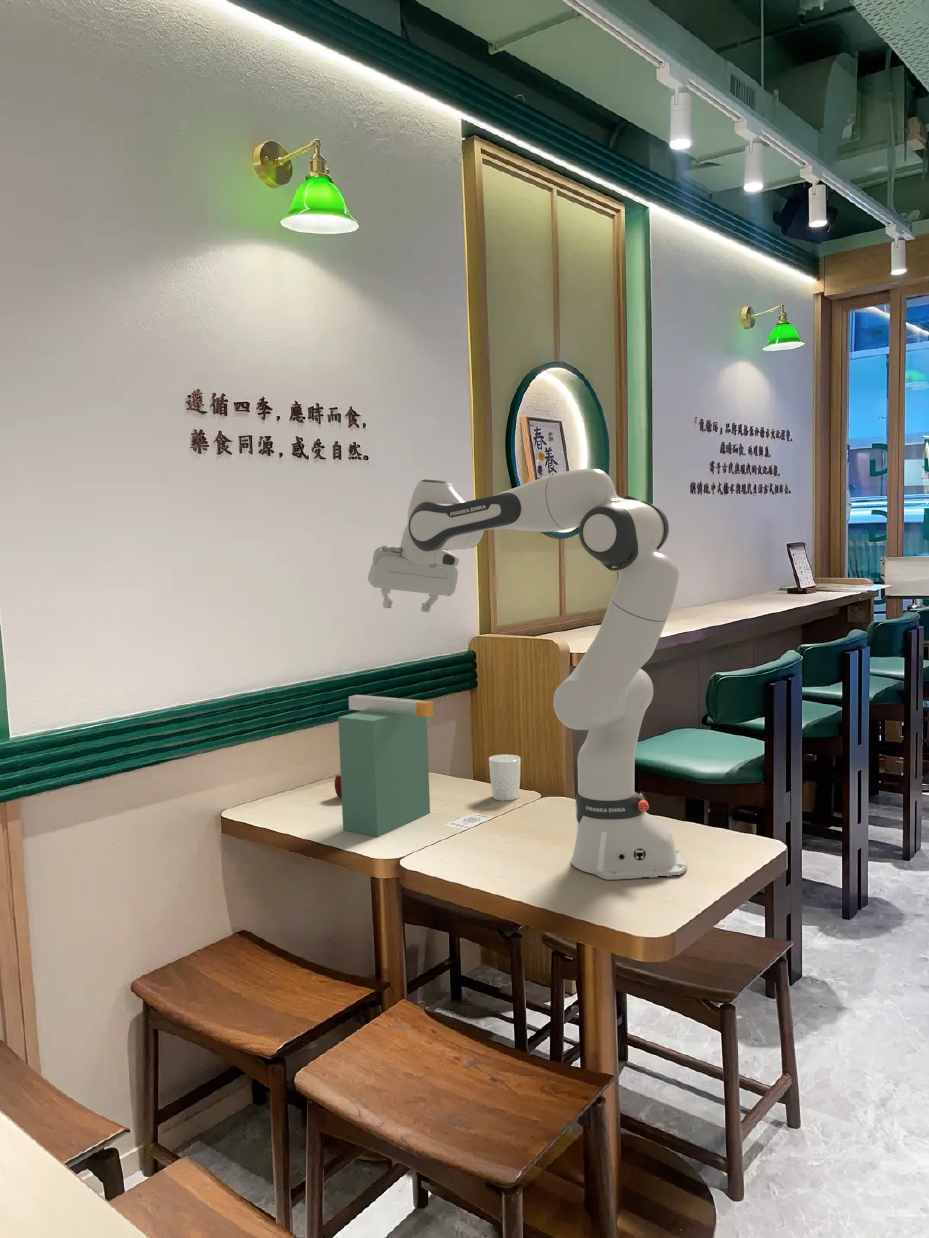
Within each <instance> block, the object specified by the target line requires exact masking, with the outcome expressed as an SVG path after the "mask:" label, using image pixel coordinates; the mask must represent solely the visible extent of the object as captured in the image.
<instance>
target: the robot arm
mask: <svg viewBox="0 0 929 1238" xmlns="http://www.w3.org/2000/svg"><path fill="white" fill-rule="evenodd" d="M408 506H409V507H408V510H407V522H406V526H405V528H404V530H403V533H402V538H401V541H400V546H399V547H398V546H397V547H395V546H388V545H382V546H380V547H378V548H376V549H375V550H374V553H373V556H372V557H373V558H372V564H371V566H370V569H369V571H368V576H367V581H368V582H369V584H370V585H371V587H373V588H375V589H376V588H377V589H380V592H381V595H382V597H383V601H382V607H383V609H384V608H385V609H392V607H393V600H391V598H389V595H388V594H391V590H392V591H401V592H402V591H404V592H408V593H409V592H410V593H419V594H425V595H426V594H428V596H429V598H428V599H427V600H426V602H422V604H421V608H420V610H421V611H422V612H423V613H430V612H431V609H432V606H433V605H434V604H435V603H436V602H437V601H438V600H439V596H445V597H451V596H452V595H453V594H455V591H456V590H457V589H456V588H457V583H458V577H459V573H458V572H459V571H458V569H457V566H458V565H459V563H460V558H459V557H458V556H457V555H456V554H454V553H453V552H451V551H452V550H453V551H454V550H468V549H472V548H476V547H477V546H478V545H479V544H480V542H481V541H482V540H483V537H484V535H485V531H488V530H512V531H523V532H534V533H547V532H549V533H551V532H560V531H565V530H569V529H573V528H578V527H579V528H578V536H579V541H580V543H581V545H582V547H583V549H584V550H585V551H586V553H588V554H589V555H590V556H591V557H593V558H594V559H596V560H597V561H598V562H600V563H601V564H602V565H603V566H604V567H605V568H606V569H607V570H608V571H612V572H616V571H617V572H618V578H617V579H618V580H617V583H616V586H615V589H614V591H613V593H612V596H611V598H610V601H609V603H608V606H607V609H606V611H605V615H604V617H603V619H602V622H601V624H600V627H599V629H598V631H597V633H596V635H595V637H594V639H593V641H592V642H591V644H590V645H589V647H588V649H587V650H586V651H585V653H584V655H583V656H582V658H581V659H580V660H579V662H578V664H577V665H576V667H575V668H574V669H573V671H572V672H571V674H569V676H568V677H567V678H566V679H564V680H563V682H561V683H560V684H559V685H558V687H557V688H556V690H555V692H554V694H553V698H552V699H553V700H552V701H553V703H552V706H553V709H554V713H555V715H556V717H557V719H558V721H559V722H561V724H562V725H564V726H565V727H566V728H569V729H572V730H576V731H579V730H580V731H588V732H587V735H586V738H585V740H584V743H583V744H582V746H581V747H580V748H579V751H578V753H577V754H578V755H577V792H576V796H575V818H576V821H577V826H576V827H577V828H576V836H575V844H574V850H573V854H572V857H571V864H572V866H573V867H574V868H576V869H578V870H580V871H582V872H586V873H589V874H592V875H596V876H598V877H599V878H601V879H602V880H603V879H604V880H608V881H609V880H610V881H614V880H626V879H627V880H629V879H642V878H641V877H649V878H659V877H658V876H667V877H673V876H672V875H679V874H682V873H683V872H684V871H686V872H687V870H688V863H687V862H688V861H687V858H686V856H685V855H684V853H683V852H682V851H681V850H679V849H677V848H676V845H675V840H674V838H673V835H672V833H671V832H670V830H669V828H668V827H667V826H666V825H664V824H663V823H661V821H659V820H658V819H656V818H654V817H653V815H651V814H650V813H647V812H648V810H649V808H650V806H649V802H648V801H647V800H646V798H645V796H643V793H641V792H639V793H638V792H637V791H635V758H636V748H637V744H638V739H639V735H640V731H641V726H642V722H643V719H644V716H645V713H646V711H647V709H648V707H649V706H650V704H651V703H652V701H653V696H654V685H653V682H652V679H651V677H650V676H649V674H648V673H647V672H646V671H645V670H643V669H642V667H643V666H644V665H645V664H646V663H647V662H648V661H649V660H650V658H652V655H653V654H654V652H655V650H656V647H657V645H658V642H659V640H660V638H661V635H662V631H664V627H665V625H666V622H667V620H668V618H669V616H670V615H669V614H670V613H671V608H672V606H673V604H674V603H673V602H674V600H675V597H676V592H677V587H678V582H679V577H680V576H679V575H680V574H679V573H680V571H679V568H678V566H677V564H676V563H675V561H674V560H673V559H672V558H670V557H669V556H668V555H666V554H663V553H662V552H660V551H659V550H660V549H661V548H662V547H663V546H664V545H665V543H666V541H667V539H668V537H669V532H670V526H669V520H668V518H667V516H666V514H665V512H663V510H662V509H660V508H659V507H658V506H656V505H654V504H652V503H651V502H647V501H644V500H642V499H638V498H636V497H633V496H630V495H626V496H624V497H620V496H619V495H618V494H617V492H616V488H615V484H614V483H613V479H612V478H611V477H610V476H609V475H608V473H606V472H605V471H604V470H601V469H599V468H598V469H597V468H582V469H580V468H579V469H574V470H573V469H572V470H568V471H561V472H557V473H554V474H550V475H547V476H544V477H540V478H537V479H536V480H532V481H529V482H526V483H525V484H521V485H519V486H516V487H514V488H510V489H508V490H504V491H501V492H499V493H497V494H494V495H493V494H492V495H490V496H485V497H481V498H477V499H473V500H468V501H465V499H463V498H462V497H461V496H460V494H458V492H457V490H456V489H455V486H454V485H453V484H452V483H451V482H449V481H446V480H439V479H421V480H419V481H418V482H417V484H416V486H415V488H414V490H413V493H412V495H411V499H410V503H409V505H408ZM450 550H451V551H450ZM686 869H687V870H686ZM670 875H671V876H670ZM682 875H683V874H682Z"/></svg>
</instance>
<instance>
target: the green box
mask: <svg viewBox="0 0 929 1238" xmlns="http://www.w3.org/2000/svg"><path fill="white" fill-rule="evenodd" d="M337 719H338V723H337V724H338V735H339V736H338V743H339V764H340V765H339V766H340V769H339V770H340V774H341V792H342V799H341V807H342V808H341V810H342V814H341V815H342V831H345V832H350V833H355V834H360V835H365V836H366V835H367V836H370V837H371V836H372V837H375V836H376V838H378V837H381V836H383V835H385V834H387V833H389V832H391V831H395V830H396V829H398V828H400V827H403V826H404V825H407V824H409V823H411V822H415V820H418V819H420V818H422V817H425V816H426V815H428V814H431V800H430V799H431V798H430V797H431V796H430V777H429V776H430V773H429V768H430V767H429V747H428V746H429V744H428V743H429V742H428V739H429V738H428V716H427V717H421V716H411V715H401V714H391V713H381V712H371V711H361V710H358V711H355V712H353V713H349V714H346V715H342V716H338V718H337ZM382 834H383V835H382ZM380 835H381V836H380Z"/></svg>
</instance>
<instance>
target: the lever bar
mask: <svg viewBox="0 0 929 1238" xmlns="http://www.w3.org/2000/svg"><path fill="white" fill-rule="evenodd" d="M348 710H352V711H353V710H354V711H371V712H381V713H391V714H401V715H411V716H421V717H427V718H428V717H430V716H433V715H434V701H433V700H432V701H431V700H422V699H411V698H401V697H400V698H399V697H398V698H397V697H390V696H389V697H387V696H375V695H367V694H366V695H365V694H354V695H350V696H348Z"/></svg>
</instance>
